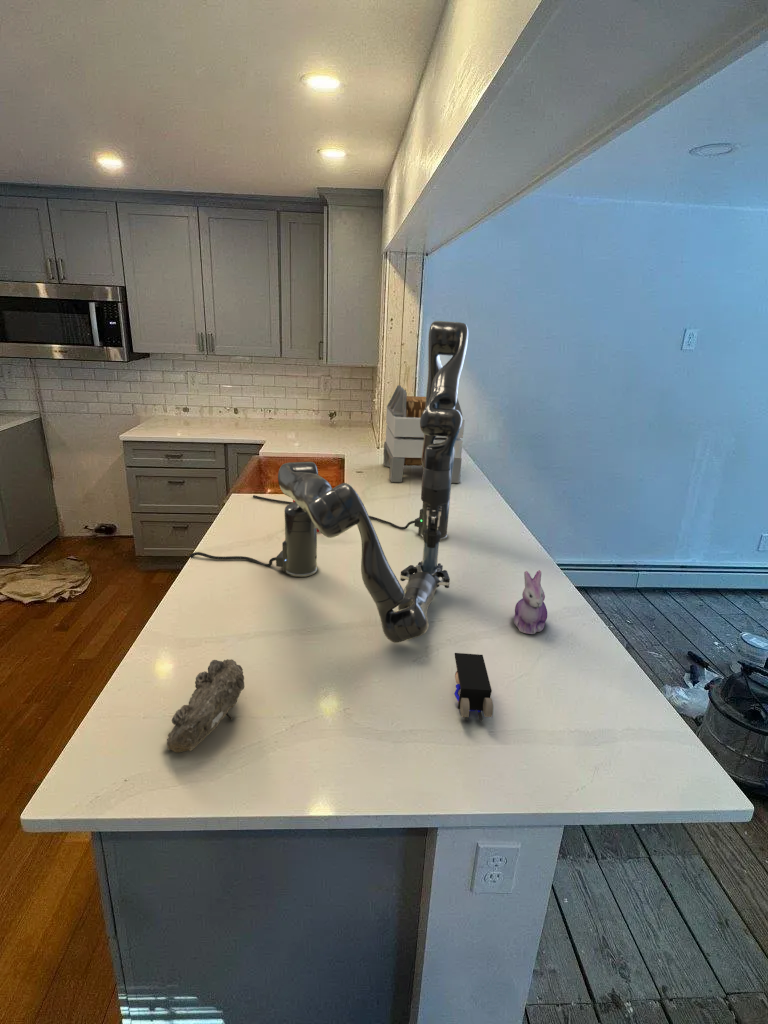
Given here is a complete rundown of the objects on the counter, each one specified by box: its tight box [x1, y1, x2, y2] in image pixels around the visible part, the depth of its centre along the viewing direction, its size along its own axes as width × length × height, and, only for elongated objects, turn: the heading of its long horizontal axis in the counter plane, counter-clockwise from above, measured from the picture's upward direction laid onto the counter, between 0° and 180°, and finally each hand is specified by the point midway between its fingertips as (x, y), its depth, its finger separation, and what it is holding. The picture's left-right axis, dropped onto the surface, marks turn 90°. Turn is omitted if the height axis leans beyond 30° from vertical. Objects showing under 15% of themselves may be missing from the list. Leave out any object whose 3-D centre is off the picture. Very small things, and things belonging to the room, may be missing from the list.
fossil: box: [166, 658, 245, 754], centre depth 106 cm, size 22×10×15 cm
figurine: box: [513, 569, 548, 635], centre depth 142 cm, size 9×10×15 cm
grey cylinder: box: [421, 540, 440, 573], centre depth 158 cm, size 4×4×17 cm
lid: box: [422, 529, 441, 543], centre depth 155 cm, size 5×5×2 cm
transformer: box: [383, 384, 465, 484], centre depth 268 cm, size 34×33×41 cm
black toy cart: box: [454, 652, 494, 722], centre depth 114 cm, size 7×8×15 cm
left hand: (430, 565), depth 161 cm, fingers closed on grey cylinder, 4 cm apart
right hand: (431, 543), depth 156 cm, fingers closed on lid, 4 cm apart
